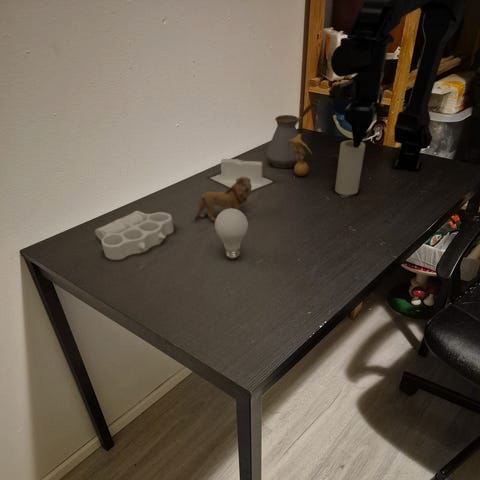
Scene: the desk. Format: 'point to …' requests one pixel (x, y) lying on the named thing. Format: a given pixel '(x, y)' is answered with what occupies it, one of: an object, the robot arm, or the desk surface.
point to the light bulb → (231, 230)
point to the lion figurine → (225, 197)
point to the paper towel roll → (349, 168)
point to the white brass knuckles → (134, 233)
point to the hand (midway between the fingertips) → (359, 141)
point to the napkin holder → (241, 173)
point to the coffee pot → (285, 140)
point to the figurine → (301, 166)
